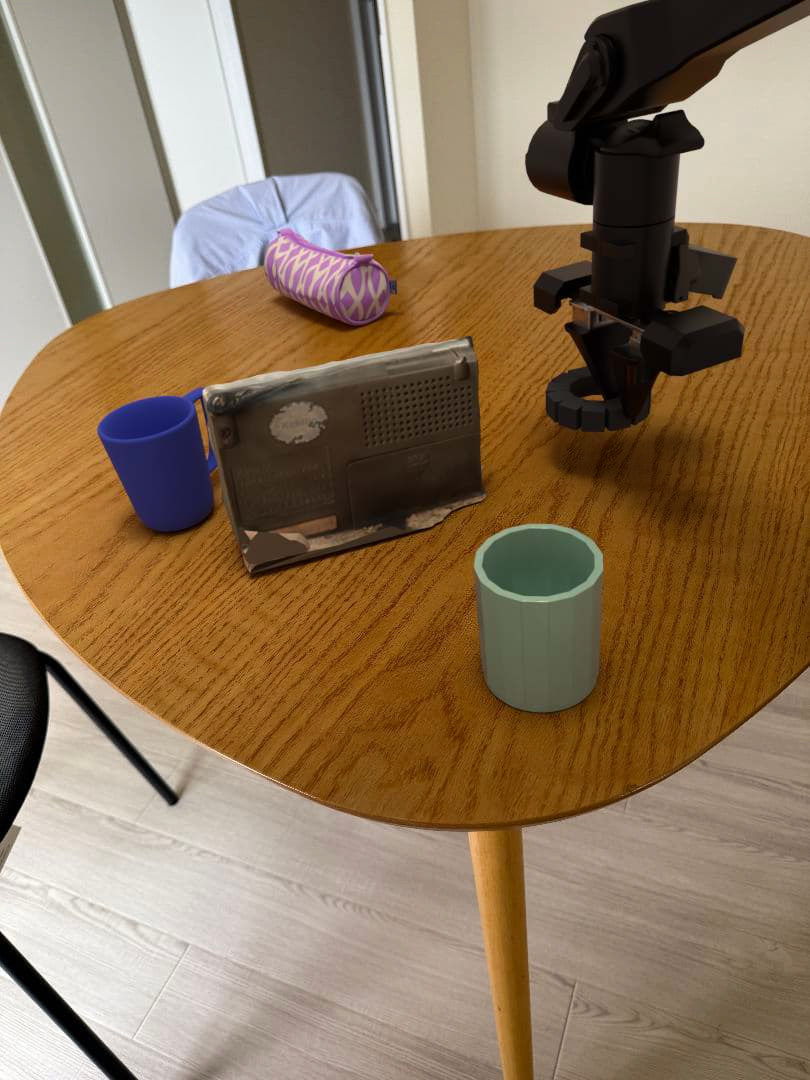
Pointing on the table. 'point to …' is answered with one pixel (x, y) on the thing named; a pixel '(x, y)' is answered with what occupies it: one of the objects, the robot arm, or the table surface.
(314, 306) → the pencil case
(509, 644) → the cup
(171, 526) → the mug
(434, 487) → the radio
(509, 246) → the table surface
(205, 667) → the table surface
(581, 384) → the ring
